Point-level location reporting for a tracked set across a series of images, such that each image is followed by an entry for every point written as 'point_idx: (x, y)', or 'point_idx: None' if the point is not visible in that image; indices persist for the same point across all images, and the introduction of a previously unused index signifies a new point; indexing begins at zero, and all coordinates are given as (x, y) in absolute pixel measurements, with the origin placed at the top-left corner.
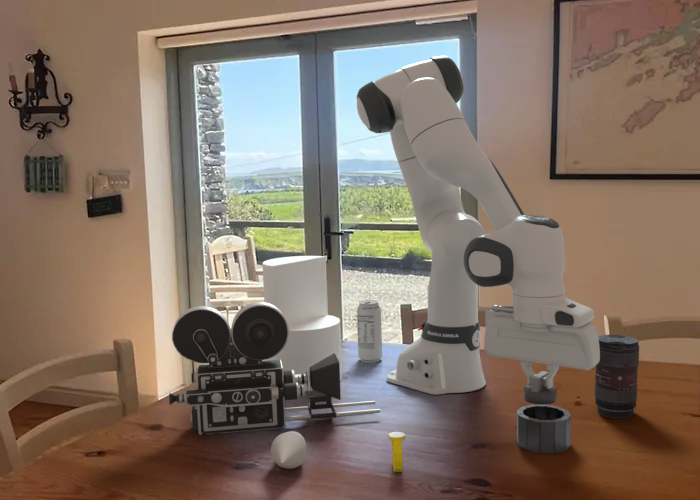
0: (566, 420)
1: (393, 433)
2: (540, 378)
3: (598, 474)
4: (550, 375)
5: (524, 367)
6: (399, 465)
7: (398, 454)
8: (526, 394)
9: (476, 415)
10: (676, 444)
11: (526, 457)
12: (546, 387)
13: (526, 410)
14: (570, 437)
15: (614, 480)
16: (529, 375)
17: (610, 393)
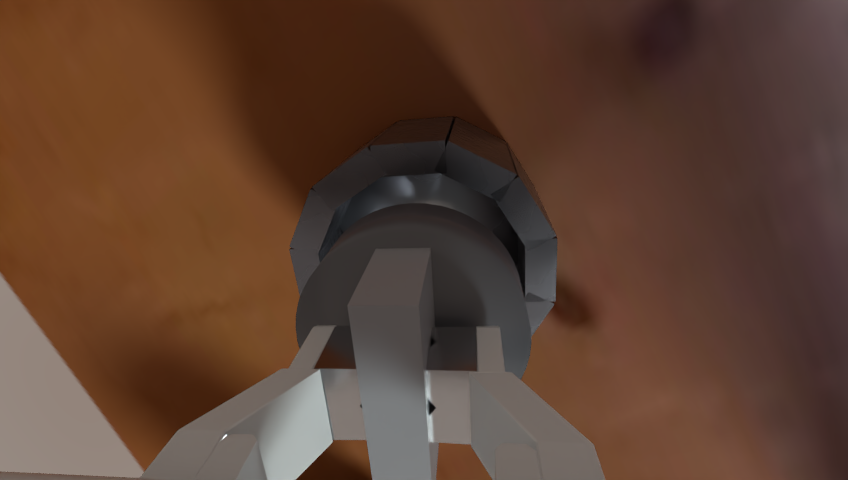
0: (292, 253)
1: None
2: (358, 358)
3: (142, 71)
4: (252, 394)
5: (540, 435)
6: None
7: None
8: (471, 235)
9: (795, 332)
10: (140, 410)
11: (421, 46)
12: (336, 326)
13: (524, 285)
14: None
15: (78, 57)
16: (477, 376)
17: None
